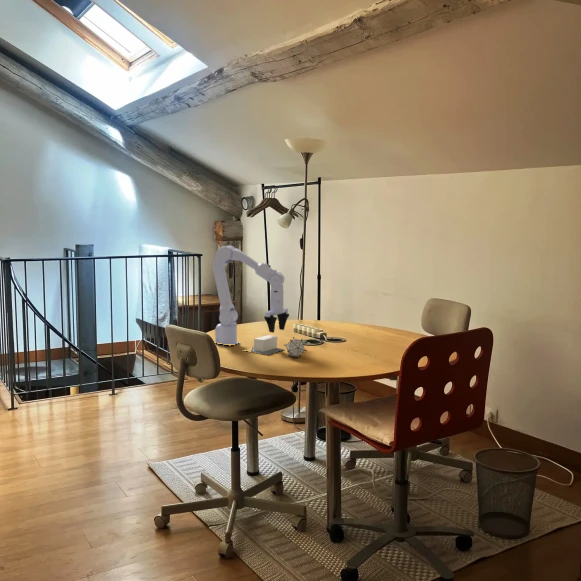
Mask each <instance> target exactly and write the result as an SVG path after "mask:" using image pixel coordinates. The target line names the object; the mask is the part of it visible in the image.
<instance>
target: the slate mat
mask: <svg viewBox="0 0 581 581" xmlns="http://www.w3.org/2000/svg"><path fill="white" fill-rule="evenodd" d="M251 347H252V350H251V352H256V353H255V354H257V353H261V354H260V355H263V354H266V355H265V356H270V355H269V354H271V355H273V354H272V353H274V354H277V353H280V352H283V351H285V349H284V348H278V347H277V348H274V349H271V350H268V351H264V352H262V351H256V350H254V346H251ZM253 350H254V351H253ZM282 350H283V351H282ZM279 351H280V352H279ZM251 352H250V353H251ZM276 352H277V353H276Z"/></svg>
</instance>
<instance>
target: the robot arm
mask: <svg viewBox="0 0 581 581" xmlns="http://www.w3.org/2000/svg"><path fill="white" fill-rule="evenodd" d="M231 261H239V262H241V263H243V264H244V265H246V266H248V267H249V268H251V269H253V270H254V271H255V274H256V275H257V276H259V278H260V277H261V278H262V280H265V281H266V282H268V283H269V284H270V292H269V293H270V296H269V297H270V298H269V299H270V301H269V302H270V303H269V304H270V310H268V311H265V312H264V313H265V314H264V318H263V319H264V320H265V322H266V324H267V328H268V331H269V333H272V334H273V333H274V334H275V330H276V321H277V319H278V328H279V329H278V330H282V331H285V327H286V324H287V320H288V319H289V317H290V314H289V313H288V312H289V308H288V307H287V308H286V307H284V283H285V281H286V280H285V276H284V275H283V274H282V272H278V270H277V269H273V268H272V267H270V266H269V264H268V263H266V262H265V263H263V262H261V263H259V262H258V261H256V260H254V259H253V258H251V257H250V256H249V255H248V254H247V253H245V252H243V251H242V250H240V249H239V248H238V247H237V248H236V247H234V246H233V245H231V244H230V245H226V246H225V245H224V246H221V247H219V248H218V250H217V251H216V252H215V257H214V258H213V262H212V271H213V275H214V280H215V281H214V282H215V286H216V290H217V294H218V299H219V305H220V306H219V317H218V318H219V319H218V320H219V322H220V323H218V324H217V325H216V327H215V328H214V332H215V333H214V337H215V339H214V343H215V342H216V343H222V344H237V345H239V344H238V343H242V342H239V341H238V335H237V334H238V323H237V320H238V318H239V314H238V311H237V310H236V308H235V305H234V303H233V301H232V297H231V292H230V287H229V283H228V279H227V273H226V266H228V264H229V263H230V262H231ZM275 316H277V317H275Z"/></svg>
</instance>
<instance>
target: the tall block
mask: <svg viewBox="0 0 581 581" xmlns="http://www.w3.org/2000/svg"><path fill="white" fill-rule="evenodd" d="M253 347H254V350H256V351H262V352H264V351H268V350H271V349H274V348H278V336H277V335H270V334H267V335H264V336H263V335H262V336H259V337H255V338H253Z"/></svg>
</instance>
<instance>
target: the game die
mask: <svg viewBox="0 0 581 581" xmlns="http://www.w3.org/2000/svg"><path fill="white" fill-rule="evenodd" d="M284 346H285V347H286V350H287V351H286V353H288V356H287V357H288V358H289V357H295V358H296V359H297V360H298V357H301V355H302V354H303V353H304V352H307V351H308V350H307V349H305V346H304V343H303V338H301V339H298V338H295V336H293V338H292V339H289V342H288V343H286V344H284Z"/></svg>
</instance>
